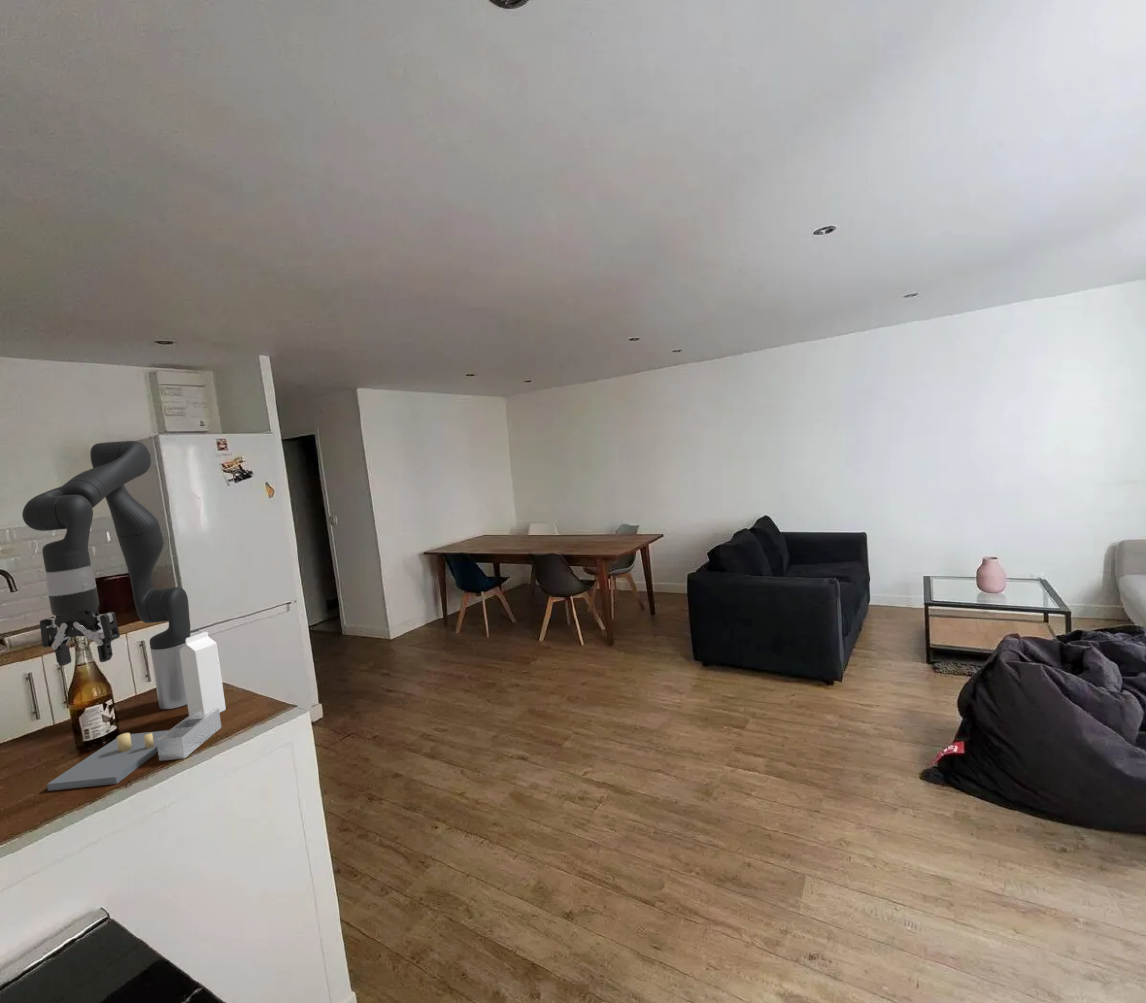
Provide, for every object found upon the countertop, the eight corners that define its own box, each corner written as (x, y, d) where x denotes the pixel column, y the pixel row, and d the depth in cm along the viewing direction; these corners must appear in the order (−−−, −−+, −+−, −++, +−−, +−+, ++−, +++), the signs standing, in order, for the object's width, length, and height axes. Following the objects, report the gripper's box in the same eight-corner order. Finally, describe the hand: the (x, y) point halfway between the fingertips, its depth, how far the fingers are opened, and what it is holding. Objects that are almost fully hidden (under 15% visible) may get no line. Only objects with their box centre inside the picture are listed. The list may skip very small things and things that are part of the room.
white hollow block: (184, 758, 122) (181, 737, 121) (159, 760, 122) (156, 739, 121) (221, 727, 136) (218, 708, 135) (198, 729, 136) (196, 710, 135)
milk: (189, 718, 143) (176, 638, 141) (211, 707, 148) (199, 630, 146) (205, 720, 140) (192, 639, 139) (226, 709, 146) (215, 631, 144)
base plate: (122, 740, 133) (119, 721, 132) (180, 735, 133) (177, 715, 133) (48, 790, 113) (44, 768, 112) (116, 783, 113) (113, 761, 113)
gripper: (121, 582, 117) (132, 653, 119) (54, 587, 117) (67, 658, 119) (91, 591, 110) (104, 667, 112) (20, 597, 110) (35, 672, 111)
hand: (85, 662), depth 115 cm, fingers open, 8 cm apart
